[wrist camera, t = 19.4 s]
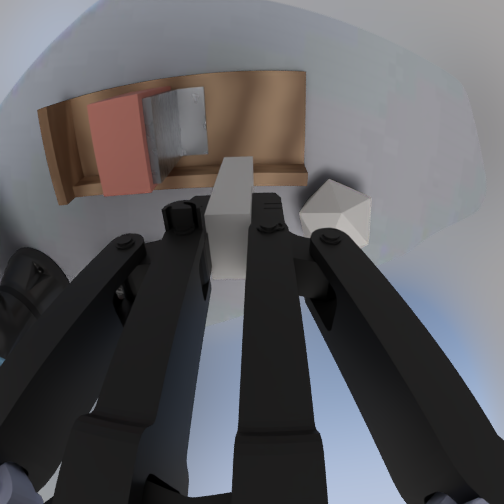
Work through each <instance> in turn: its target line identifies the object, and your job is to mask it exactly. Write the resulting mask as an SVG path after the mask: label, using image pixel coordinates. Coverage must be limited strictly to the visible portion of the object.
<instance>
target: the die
mask: <svg viewBox="0 0 504 504" xmlns="http://www.w3.org/2000/svg"><path fill="white" fill-rule="evenodd" d="M299 216H300V220H301V225H302V230H303V234H304V237H306V238H310V236H311V234H312V232H314V231H315V230H317V229H321V228H336V229H338V230H341V231H343V232H345V233H346V234H348V235H349V236H350V237H351V238H352V240H353V241H354V242H355V243H356V244H357V245H358V246H359V247H360V248H362V247H364V246H366V245H368V244H369V232H370V216H371V197H369V196H367V195H365V194H363V193H360V192H358V191H356V190H354V189H351V188H349V187H347V186H345V185H342V184H340V183H338V182H335V181H333V180H331V179H328V180H327V181H326V182H325V183H324V184H323V185H322V186H321V187H320V188H319V189H318V190H317V191H316V192H315V193H314V194H313V195H312V196H311V197H310V198H309V199H308V200H307V202H306V203H305V205H304V206H303V208H302V209H301V211H300V212H299Z"/></svg>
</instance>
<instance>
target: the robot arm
mask: <svg viewBox="0 0 504 504" xmlns="http://www.w3.org/2000/svg"><path fill="white" fill-rule="evenodd" d="M162 214H163V219H164V224H165V229H166V232H165V234H164V236H163V238H162V240H158V241H155V242H150V243H146V244H145V243H144V239H143V237H142V236H141V235H139V234H130V233H129V234H126V235H125V234H124V235H121V236H120V237H117V238H116V239H114V240H113V241H111V242H110V243H109V244H108V245H107V246H106V247H105V248H104V249H103V250H102V251H101V252H100V253H99V254H98V255H97V256H96V257H95V258H94V259H93V260H92V261H91V262H90V263H89V264H88V265H87V266H86V267H85V268H84V269H83V270H82V271H81V272H80V273H79V274H78V275H77V276H76V277H75V278H74V280H73V281H72V282H71V283H70V284H69V282H68V280H67V278H66V277H65V275H64V273H63V272H62V271H61V269H60V268H59V267H58V266H57V265H56V264H55V263H54V262H53V261H52V260H51V259H50V258H49V257H47V256H46V255H44V254H43V253H41V252H39V251H37V250H35V249H31V248H22V249H19V250H18V251H16V253H15V254H14V255H13V256H12V257H11V258H10V260H9V262H8V265H7V268H6V270H5V272H4V275H3V278H2V281H1V284H0V504H328V496H327V484H326V472H325V460H324V451H323V444H322V439H321V436H320V433H319V432H318V431H317V430H316V427H315V422H314V413H313V403H312V395H311V385H310V377H309V369H308V361H307V352H306V344H305V337H304V330H303V322H302V314H301V307H300V301H299V296H303V297H304V298H305V303H306V305H307V306H308V308H309V310H310V312H311V314H312V316H313V318H314V320H315V322H316V324H317V326H318V328H319V330H320V332H321V334H322V336H323V338H324V340H325V342H326V344H327V346H328V348H329V350H330V352H331V353H332V355H333V357H334V360H335V362H336V364H337V366H338V368H339V370H340V371H341V374H342V376H343V378H344V379H345V382H346V383H347V386H348V388H349V390H350V392H351V394H352V396H353V398H354V400H355V402H356V404H357V406H358V408H359V410H360V412H361V414H362V416H363V418H364V421H365V423H366V425H367V427H368V429H369V431H370V433H371V435H372V437H373V439H374V442H375V444H376V446H377V448H378V450H379V452H380V454H381V456H382V459H383V460H384V463H385V465H386V467H387V469H388V472H389V474H390V476H391V478H392V480H393V482H394V484H395V486H396V488H397V490H398V491H399V493H400V495H401V497H402V498H403V499H404V501H405V502H406V503H407V504H504V440H503V439H502V438H500V437H499V436H498V435H497V433H496V432H495V430H494V428H493V426H492V425H491V423H490V421H489V420H488V418H487V417H486V415H485V413H484V412H483V410H482V409H481V407H480V405H479V404H478V402H477V400H476V399H475V397H474V396H473V394H472V393H471V391H470V390H469V388H468V387H467V385H466V384H465V382H464V381H463V379H462V378H461V376H460V375H459V373H458V372H457V370H456V369H455V368H454V366H453V365H452V363H451V362H450V360H449V359H448V358H447V356H446V355H445V353H444V352H443V351H442V349H441V348H440V347H439V345H438V344H437V342H436V341H435V340H434V338H433V337H432V336H431V334H430V333H429V332H428V330H427V329H426V328H425V326H424V325H423V324H422V323H421V321H420V320H419V319H418V317H417V316H416V315H415V313H414V312H413V311H412V310H411V308H410V307H409V306H408V305H407V303H406V302H405V301H404V300H403V298H402V297H401V296H400V295H399V293H398V292H397V291H396V290H395V289H394V287H393V286H392V285H391V284H390V282H389V281H388V280H387V279H386V278H385V276H384V275H383V274H382V273H381V272H380V270H379V269H378V268H377V267H376V266H375V265H374V263H373V262H372V261H371V260H370V259H369V258H368V257H367V255H366V254H365V253H364V252H363V251H362V250H361V249H360V247H359V246H358V245H357V244H356V243H355V242H354V241H353V240H352V238H351V237H350V236H349V235H348V234H346V233H345V232H343V231H341V230H338V229H336V228H321V229H317V230H315V231H314V232H312V234H311V236H310V238H306V237H301V236H297V235H295V234H293V233H291V232H289V230H288V226H287V225H286V224H285V221H284V215H283V209H282V203H281V197H279V196H278V195H277V194H276V193H254V179H253V156H247V157H224V159H223V162H222V164H221V167H220V170H219V173H218V176H217V179H216V182H215V184H214V187H213V190H212V193H211V195H206V196H195V197H193V198H192V199H191V200H183V201H176V202H173V203H170V204H168V205H166V206H165V207H164V208H163V209H162ZM211 270H212V277H213V280H245V279H246V282H245V301H244V320H243V339H242V359H241V379H240V399H239V420H238V421H239V422H238V431H237V434H236V437H235V444H234V458H233V479H232V492H230V493H224V494H217V495H211V496H203V497H193V498H192V497H188V485H189V478H188V477H189V476H188V469H187V461H186V460H187V449H188V442H189V434H190V426H191V418H192V411H193V403H194V397H195V390H196V383H197V375H198V369H199V362H200V356H201V349H202V342H203V337H204V330H205V324H206V318H207V312H208V306H209V300H210V294H211V282H210V275H211ZM120 286H121V289H122V291H123V294H122V295H121V296H120V297H119V298H118V296H117V294H116V291H117V289H118V288H119V287H120ZM98 397H99V398H98ZM97 399H98V401H97V404H96V407H95V409H94V410H93V411H92V413H89V412H90V410H91V409H92V407H93V405H94V403H95V402H96V400H97ZM61 462H62V464H61V467H60V471H59V475H58V479H57V483H56V488H55V493H54V496H53V497H52V498H50V499H49V500H48V501H46V502H45V503H43V499H42V497H41V496H40V495H39V494H38V493H37V492H38V491H39V490H40V489H41V488H42V487H44V485H46V483H47V482H48V481H49V479H50V478H51V477H52V476H53V474H54V473H55V471H56V470H57V468H58V466H59V465H60V463H61Z"/></svg>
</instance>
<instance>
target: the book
mask: <svg viewBox="0 0 504 504" xmlns="http://www.w3.org/2000/svg"><path fill="white" fill-rule="evenodd" d="M169 90H171V86H165V87H158V88H152V89H146V90H140V91H135V92H129V93H126V94H122V95H118V96H115V97H111V98H108V99H104V100H101V101H98V102H95V103H91V104H88V105H87V110H88V117H89V124H90V130H91V136H92V142H93V147H94V152H95V157H96V162H97V167H98V172H99V177H100V181H101V186H102V190H103V194H104V197H105V196H116V195H128V194H141V193H151V192H152V191H153V190H154V189H155V187H156V186H157V185H158V184H153V178H152V172H151V166H150V159H149V153H148V146H147V138H146V131H145V123H144V114H143V105H142V98H146V97H149V96H152V95H155V94H159V93H162V92H166V91H169Z"/></svg>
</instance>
